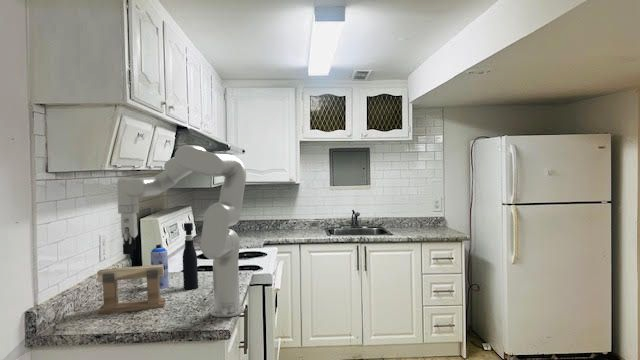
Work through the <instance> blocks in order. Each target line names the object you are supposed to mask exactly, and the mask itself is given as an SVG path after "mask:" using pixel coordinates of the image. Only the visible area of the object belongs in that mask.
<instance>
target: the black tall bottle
mask: <svg viewBox="0 0 640 360" xmlns="http://www.w3.org/2000/svg"><path fill="white" fill-rule="evenodd" d="M193 224H194V223H193V222H185V223H183V228H184V229H183V231H184V232H185V240H184V248H183V253H182V272H183V273H182V274H183V275H182V276H183V278H182V279H183V290H186V291H193V290H197V289H199V277H198V273H199V271H198V255H197V251H196V249H195V246H194V239H193V235H192V234H193V233H192V231H194V225H193ZM196 288H197V289H196ZM192 289H193V290H192Z"/></svg>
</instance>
